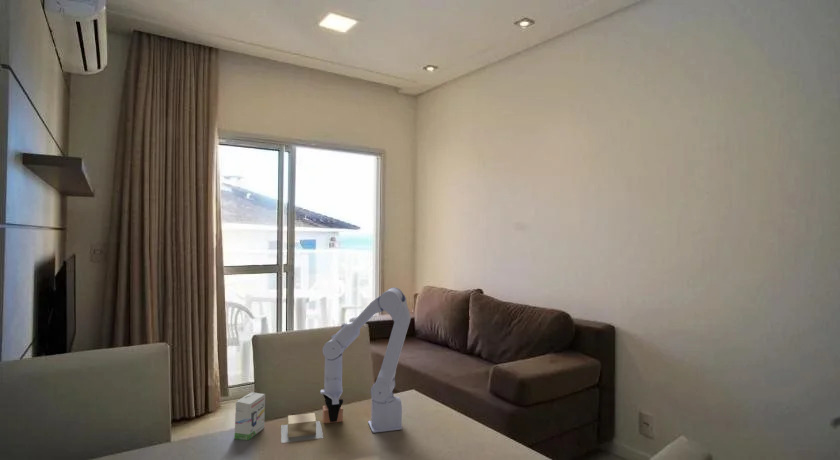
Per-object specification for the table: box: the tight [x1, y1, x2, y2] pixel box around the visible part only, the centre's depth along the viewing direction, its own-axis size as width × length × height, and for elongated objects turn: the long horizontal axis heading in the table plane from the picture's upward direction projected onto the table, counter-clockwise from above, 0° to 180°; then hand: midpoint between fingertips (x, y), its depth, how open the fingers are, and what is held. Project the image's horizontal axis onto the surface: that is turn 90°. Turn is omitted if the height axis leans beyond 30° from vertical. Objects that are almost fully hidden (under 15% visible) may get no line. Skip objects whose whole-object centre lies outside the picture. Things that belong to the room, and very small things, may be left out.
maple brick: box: [287, 412, 317, 437], centre depth 136 cm, size 8×6×4 cm
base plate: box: [280, 420, 324, 444], centre depth 136 cm, size 12×12×1 cm
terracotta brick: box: [322, 404, 344, 424], centre depth 145 cm, size 6×4×5 cm, turn 108°
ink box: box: [233, 391, 266, 441], centre depth 134 cm, size 9×5×12 cm, turn 168°
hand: (332, 418), depth 145 cm, fingers closed on terracotta brick, 4 cm apart
